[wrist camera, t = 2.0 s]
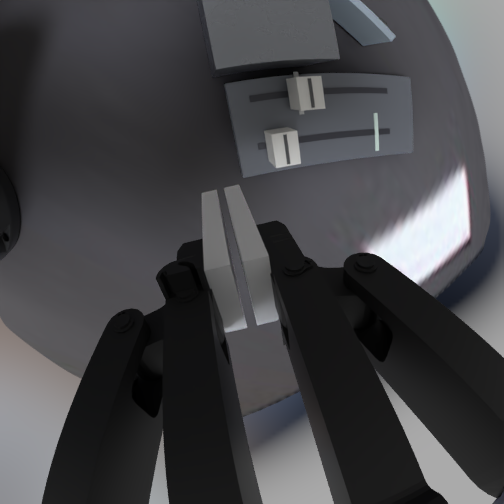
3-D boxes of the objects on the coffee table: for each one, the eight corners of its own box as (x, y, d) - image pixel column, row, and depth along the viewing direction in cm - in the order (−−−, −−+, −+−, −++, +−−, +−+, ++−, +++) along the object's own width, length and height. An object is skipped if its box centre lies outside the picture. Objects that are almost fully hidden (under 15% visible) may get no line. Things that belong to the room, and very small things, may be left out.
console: (240, 173, 29) (243, 178, 28) (223, 82, 24) (224, 80, 22) (403, 148, 31) (413, 152, 29) (400, 74, 25) (410, 74, 23)
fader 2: (290, 109, 24) (301, 110, 22) (286, 79, 22) (296, 77, 20) (313, 106, 24) (325, 108, 22) (308, 77, 23) (321, 75, 20)
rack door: (360, 46, 23) (395, 41, 17) (293, -8, 18) (316, -29, 13) (371, 34, 22) (406, 27, 16) (306, -20, 17) (331, -41, 12)
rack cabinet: (212, 77, 23) (216, 69, 17) (196, -2, 18) (195, -33, 11) (305, 66, 24) (340, 58, 17) (290, -11, 18) (318, -37, 12)
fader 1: (268, 160, 27) (276, 168, 24) (263, 130, 25) (271, 134, 22) (291, 156, 27) (301, 164, 24) (287, 127, 25) (297, 130, 23)
